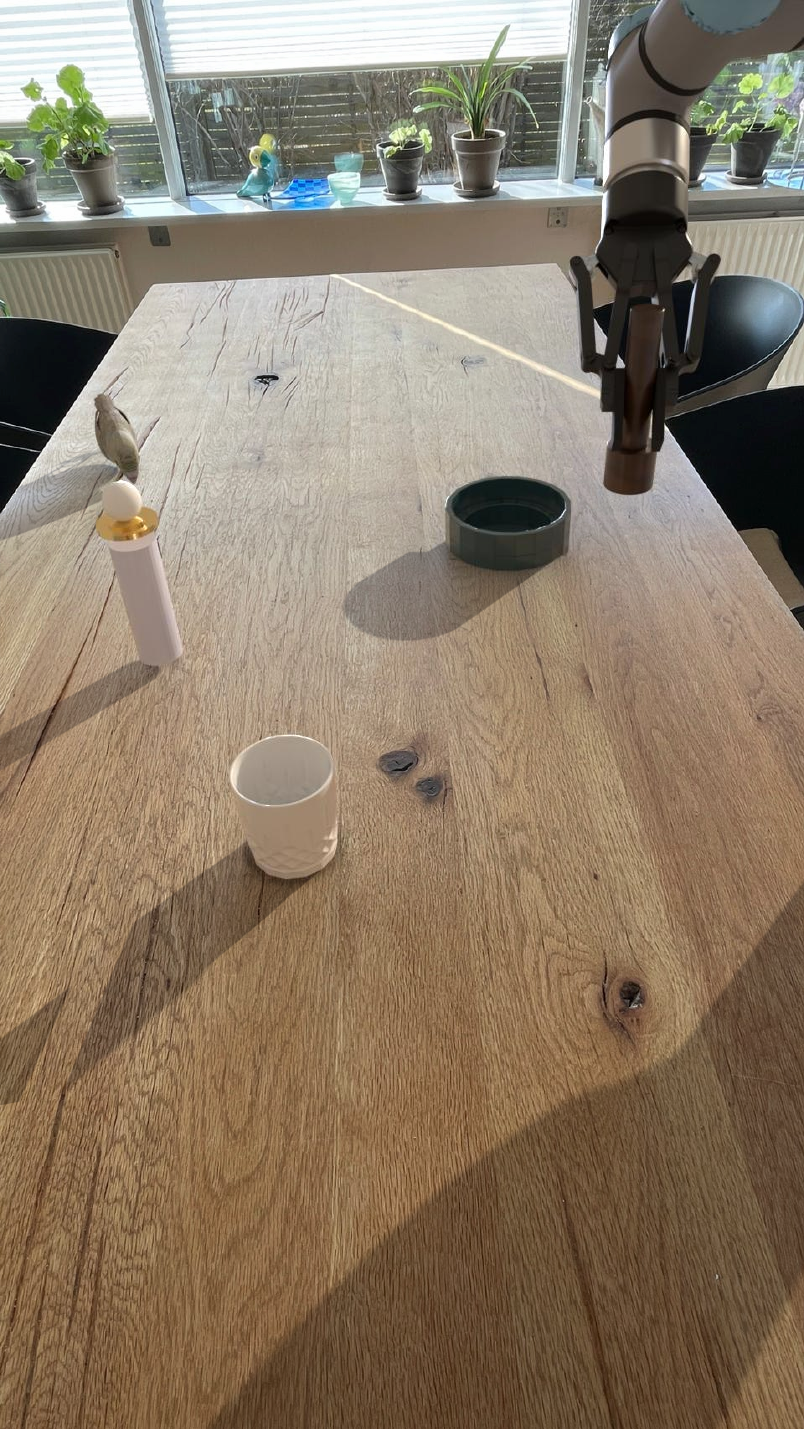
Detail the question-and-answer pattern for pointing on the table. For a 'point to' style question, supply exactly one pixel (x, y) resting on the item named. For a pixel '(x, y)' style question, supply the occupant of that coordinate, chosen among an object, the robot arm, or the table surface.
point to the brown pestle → (637, 405)
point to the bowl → (508, 523)
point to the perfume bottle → (140, 573)
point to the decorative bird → (116, 437)
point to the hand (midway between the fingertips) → (637, 445)
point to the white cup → (287, 804)
